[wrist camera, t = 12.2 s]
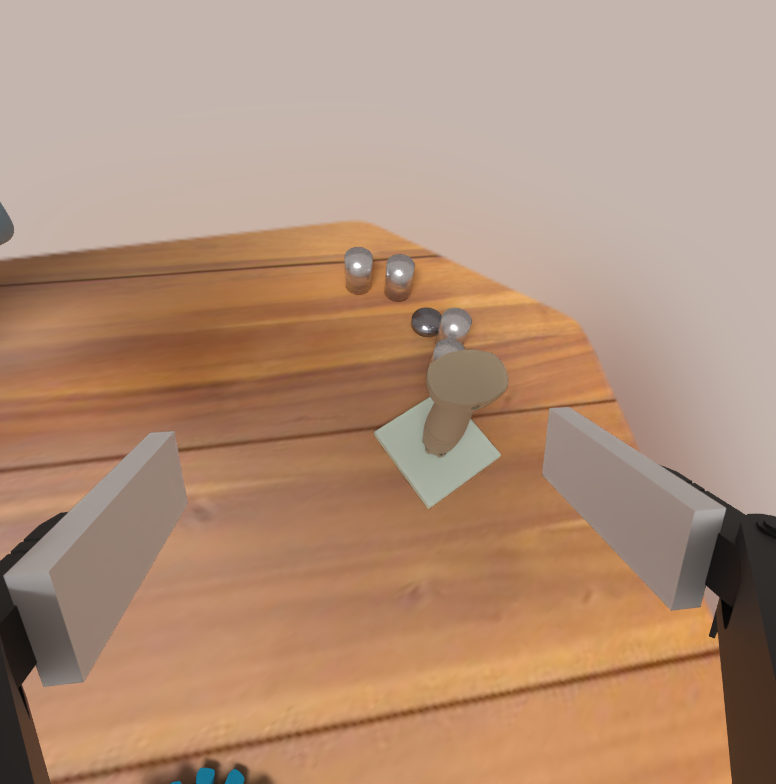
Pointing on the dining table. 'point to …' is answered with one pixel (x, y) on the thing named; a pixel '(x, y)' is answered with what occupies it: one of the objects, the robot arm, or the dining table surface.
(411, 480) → the pad
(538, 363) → the dining table surface
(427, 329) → the disc
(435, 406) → the handle
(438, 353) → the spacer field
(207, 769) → the gear
